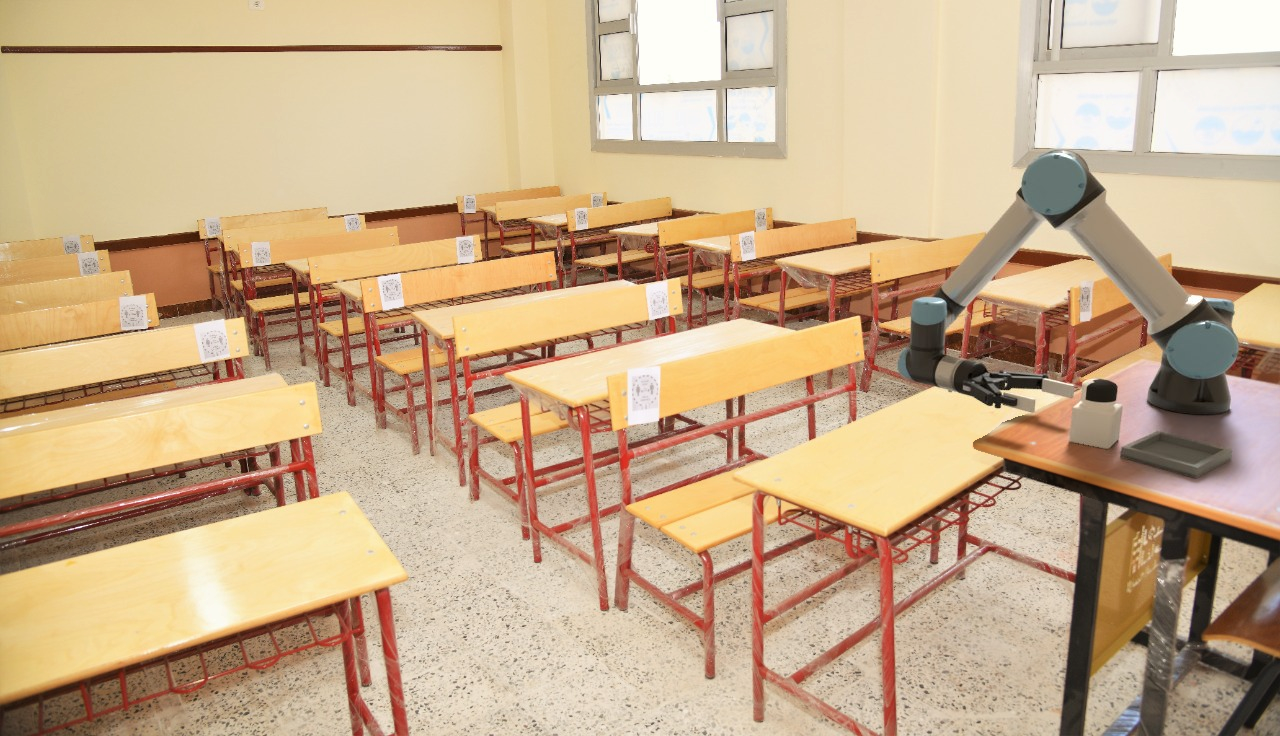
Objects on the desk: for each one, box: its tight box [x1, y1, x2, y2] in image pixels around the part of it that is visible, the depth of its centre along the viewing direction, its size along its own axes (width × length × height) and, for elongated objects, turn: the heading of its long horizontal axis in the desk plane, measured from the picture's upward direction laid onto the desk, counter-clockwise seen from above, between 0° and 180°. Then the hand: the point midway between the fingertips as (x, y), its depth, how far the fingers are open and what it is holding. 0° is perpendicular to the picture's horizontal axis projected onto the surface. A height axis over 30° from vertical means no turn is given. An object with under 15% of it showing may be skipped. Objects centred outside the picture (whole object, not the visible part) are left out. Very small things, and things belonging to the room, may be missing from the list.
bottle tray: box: [1119, 430, 1233, 479], centre depth 161 cm, size 13×13×2 cm
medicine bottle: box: [1068, 378, 1123, 450], centre depth 170 cm, size 7×7×12 cm
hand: (1054, 398), depth 176 cm, fingers open, 13 cm apart
